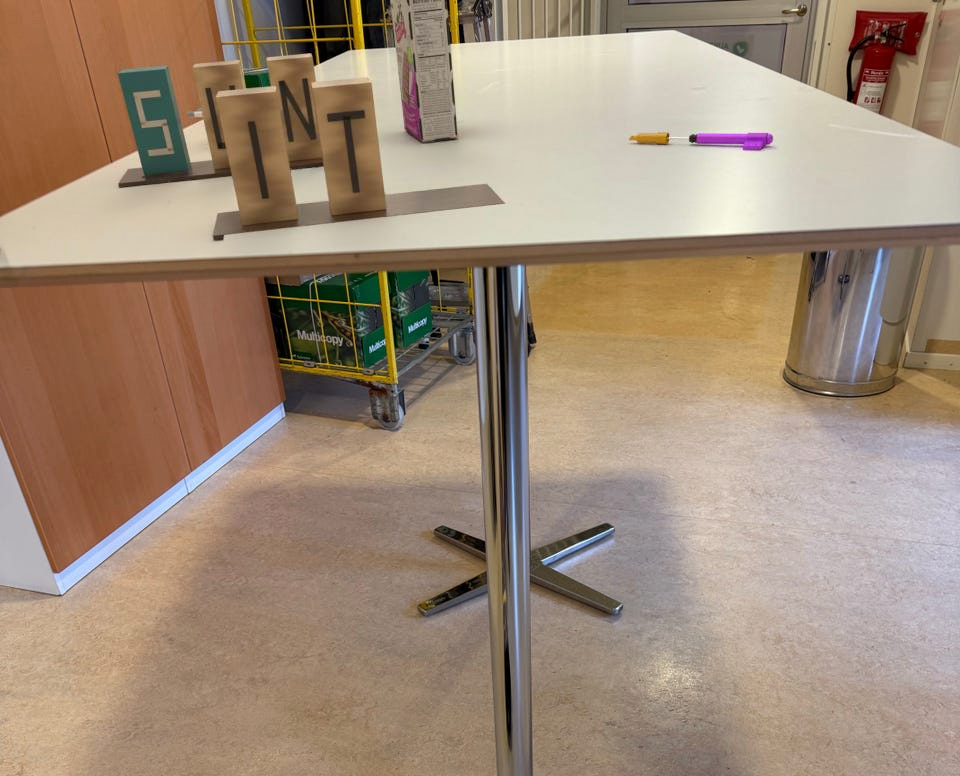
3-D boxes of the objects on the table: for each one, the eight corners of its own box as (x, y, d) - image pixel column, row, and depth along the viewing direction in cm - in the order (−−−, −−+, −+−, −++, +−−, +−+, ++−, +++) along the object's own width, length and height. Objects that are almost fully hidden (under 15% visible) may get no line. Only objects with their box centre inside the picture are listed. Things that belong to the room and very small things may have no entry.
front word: (213, 240, 80) (182, 103, 74) (218, 217, 87) (190, 90, 81) (505, 207, 83) (499, 72, 76) (487, 187, 90) (480, 63, 83)
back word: (118, 187, 102) (88, 79, 96) (128, 172, 109) (101, 70, 103) (350, 162, 105) (336, 56, 99) (345, 150, 112) (332, 49, 106)
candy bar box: (401, 131, 121) (385, -22, 111) (438, 127, 122) (426, -26, 112) (419, 144, 112) (404, -21, 102) (459, 139, 113) (447, -25, 103)
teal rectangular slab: (144, 175, 104) (117, 73, 98) (147, 169, 108) (122, 69, 101) (188, 171, 105) (164, 68, 99) (191, 164, 108) (168, 65, 102)
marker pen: (773, 142, 97) (632, 141, 104) (774, 130, 96) (631, 130, 103) (766, 154, 96) (623, 151, 103) (766, 142, 95) (622, 140, 102)
